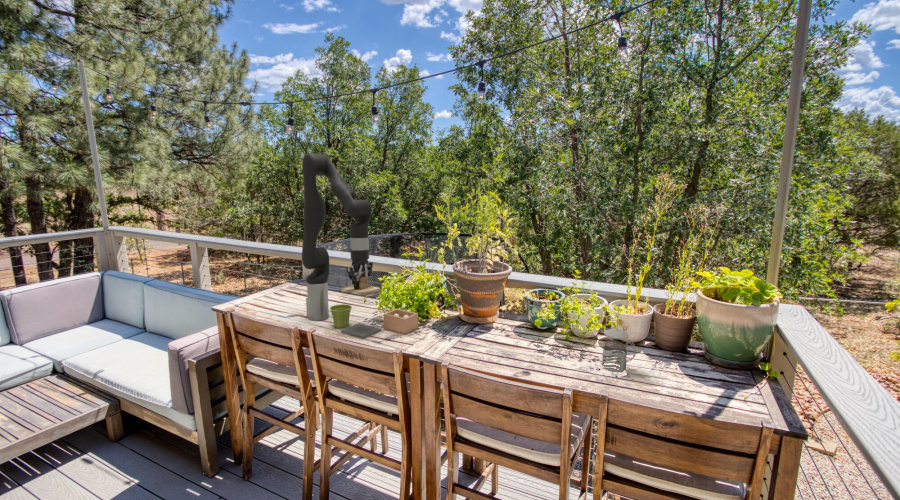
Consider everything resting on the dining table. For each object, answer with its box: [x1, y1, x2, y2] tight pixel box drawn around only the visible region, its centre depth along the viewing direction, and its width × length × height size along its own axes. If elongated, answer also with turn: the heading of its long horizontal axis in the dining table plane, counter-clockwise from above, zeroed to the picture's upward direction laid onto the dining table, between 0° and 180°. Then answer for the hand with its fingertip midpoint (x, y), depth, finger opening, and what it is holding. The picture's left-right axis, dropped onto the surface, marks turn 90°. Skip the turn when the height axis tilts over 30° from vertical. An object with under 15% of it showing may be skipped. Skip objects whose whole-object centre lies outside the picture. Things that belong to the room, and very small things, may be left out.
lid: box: [340, 275, 381, 296], centre depth 176 cm, size 13×10×6 cm
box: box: [382, 308, 419, 336], centre depth 183 cm, size 12×9×7 cm
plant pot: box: [329, 303, 353, 329], centre depth 185 cm, size 9×9×9 cm
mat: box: [340, 322, 382, 339], centre depth 180 cm, size 13×11×1 cm
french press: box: [601, 301, 637, 372], centre depth 144 cm, size 10×12×25 cm
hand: (360, 287), depth 177 cm, fingers closed on lid, 4 cm apart
